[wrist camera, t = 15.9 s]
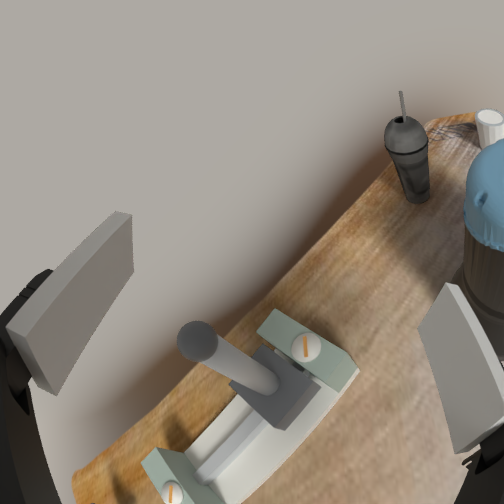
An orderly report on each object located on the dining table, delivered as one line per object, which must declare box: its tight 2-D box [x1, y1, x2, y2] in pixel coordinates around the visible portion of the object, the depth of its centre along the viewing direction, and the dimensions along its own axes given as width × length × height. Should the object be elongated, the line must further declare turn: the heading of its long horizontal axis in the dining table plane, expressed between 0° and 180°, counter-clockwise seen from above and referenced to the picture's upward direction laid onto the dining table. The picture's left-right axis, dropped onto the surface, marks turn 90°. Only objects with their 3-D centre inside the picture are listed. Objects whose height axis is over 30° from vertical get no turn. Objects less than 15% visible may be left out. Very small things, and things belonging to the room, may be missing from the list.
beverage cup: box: [384, 91, 430, 204], centre depth 41 cm, size 7×7×20 cm
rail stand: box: [141, 308, 360, 504], centre depth 34 cm, size 30×12×8 cm, turn 135°
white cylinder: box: [475, 109, 504, 150], centre depth 41 cm, size 7×7×7 cm
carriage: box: [177, 321, 321, 431], centre depth 30 cm, size 7×9×18 cm
